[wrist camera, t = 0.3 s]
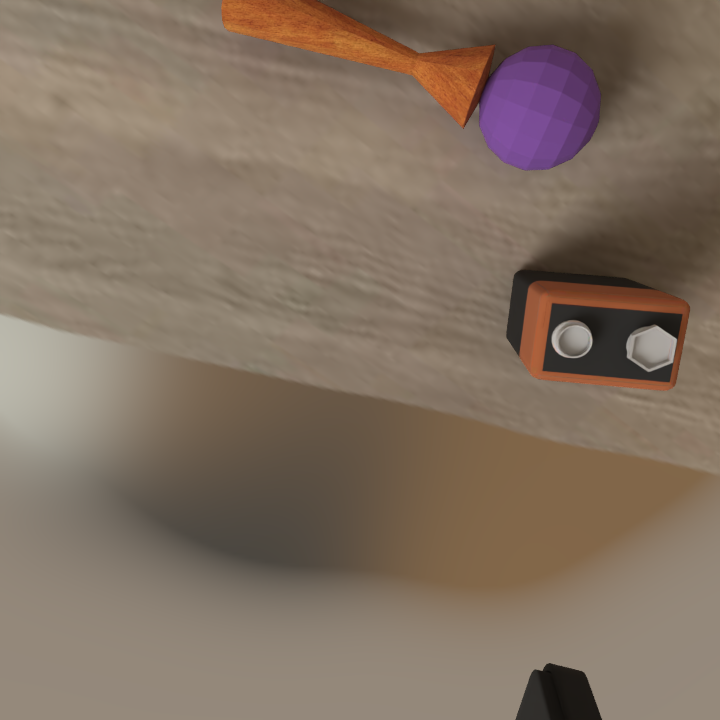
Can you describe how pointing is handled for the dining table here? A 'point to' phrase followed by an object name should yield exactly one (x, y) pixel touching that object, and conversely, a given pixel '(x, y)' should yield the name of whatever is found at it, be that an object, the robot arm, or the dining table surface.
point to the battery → (596, 330)
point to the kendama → (453, 78)
